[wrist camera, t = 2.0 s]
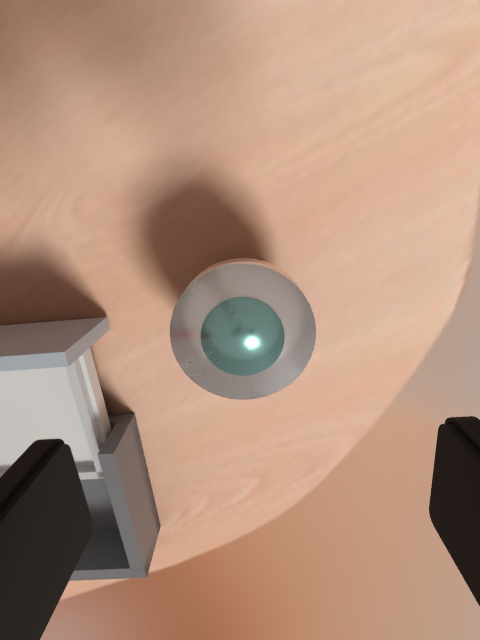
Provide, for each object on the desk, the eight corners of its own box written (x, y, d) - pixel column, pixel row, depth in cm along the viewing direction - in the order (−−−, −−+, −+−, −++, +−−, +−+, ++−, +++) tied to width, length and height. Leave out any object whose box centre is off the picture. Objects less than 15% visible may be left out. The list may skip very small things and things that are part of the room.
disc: (167, 263, 17) (157, 272, 15) (307, 251, 16) (315, 258, 14) (187, 385, 19) (180, 406, 17) (310, 377, 19) (317, 397, 17)
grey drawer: (-82, 331, 22) (-178, 370, 17) (107, 317, 21) (64, 352, 16) (-24, 462, 25) (-89, 525, 20) (139, 452, 25) (112, 515, 20)
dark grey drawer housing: (-39, 425, 24) (-91, 465, 21) (134, 413, 24) (113, 453, 20) (9, 533, 28) (-28, 584, 24) (160, 526, 28) (146, 577, 24)
